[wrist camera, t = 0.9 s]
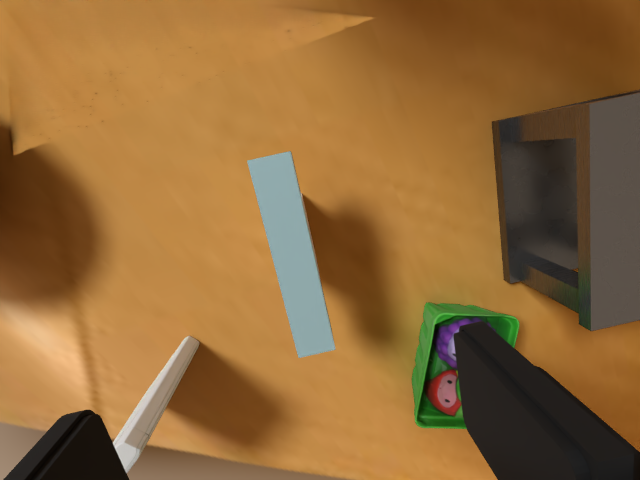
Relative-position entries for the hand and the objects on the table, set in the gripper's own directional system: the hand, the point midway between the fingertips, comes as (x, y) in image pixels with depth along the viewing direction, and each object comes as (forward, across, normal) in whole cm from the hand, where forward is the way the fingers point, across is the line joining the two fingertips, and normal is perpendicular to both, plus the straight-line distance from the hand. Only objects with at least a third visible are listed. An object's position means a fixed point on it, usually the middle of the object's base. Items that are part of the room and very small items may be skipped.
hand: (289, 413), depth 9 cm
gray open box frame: (+22, -25, +2) cm, 34 cm away
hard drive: (+22, +15, +11) cm, 29 cm away
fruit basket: (+22, -13, +15) cm, 30 cm away
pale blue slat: (+22, 0, 0) cm, 22 cm away
